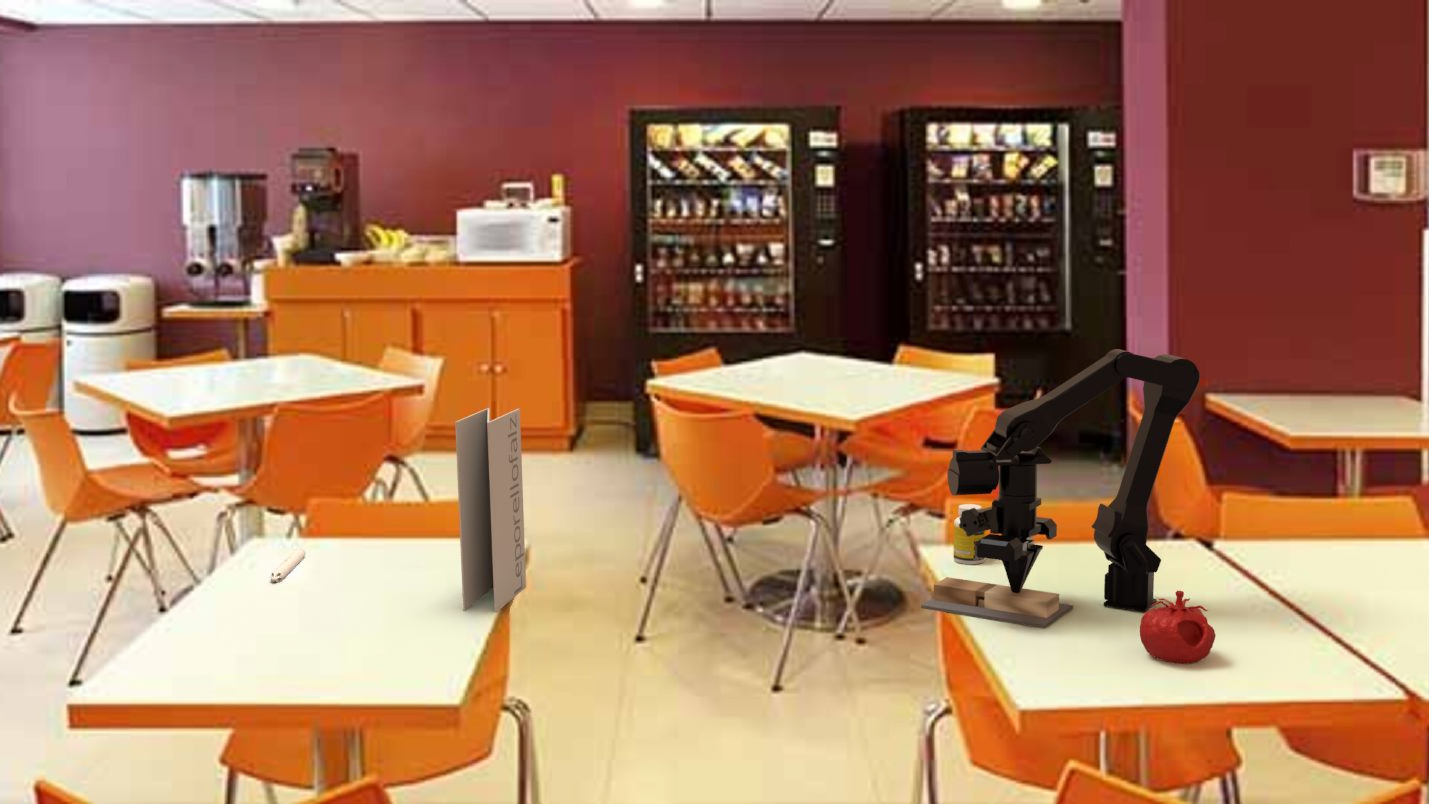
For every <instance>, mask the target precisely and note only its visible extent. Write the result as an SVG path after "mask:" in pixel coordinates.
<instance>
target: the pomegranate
mask: <svg viewBox="0 0 1429 804" xmlns="http://www.w3.org/2000/svg"><path fill="white" fill-rule="evenodd" d="M1184 595H1185V593H1184V591H1182V590H1176V591H1175V596H1176V600H1175V603H1174V602H1172V601H1169V600H1167V599H1166V598H1159V597H1157V599H1158V600H1159V601H1157V602H1156V603H1155V604H1153V605H1150V606H1152V607H1153V606H1156V605H1158V604H1162V605H1163V606H1162V607H1161V606H1160V607H1156V608H1152V609H1150V610H1149V609H1148V610H1147V611H1145V612H1144V613H1143V615H1142V617H1141V621H1140V625H1139V637H1140V640H1141V644H1142V645H1143V647H1144V649H1145V651H1146V652H1147V653H1148V654H1149V655H1150V656H1151V657H1153V658H1155V659H1157V660H1160V661H1164V662H1167V663H1170V664H1171V663H1173V664H1178V665H1179V664H1181V665H1191V664H1195V663H1198V662H1200V661H1201V660H1204V659H1206V658H1207V657H1208V655H1210V653H1211V650H1212V649H1213V646H1214V643H1215V640H1216V632H1215V629H1214V628H1213V626H1212V625H1211V624H1209V621H1208V619H1207V616H1205V615H1204V614H1203V612H1202V610H1203V611H1204V612H1207V611H1209V609H1205V607H1204V606H1202V605H1196V606H1186V603H1187V602H1190V599H1191V598H1190V597H1188V598H1184ZM1183 598H1184V599H1183ZM1164 601H1165V602H1166V603H1165V602H1164ZM1168 604H1169V605H1168ZM1201 609H1202V610H1201Z"/></svg>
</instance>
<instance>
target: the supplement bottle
mask: <svg viewBox="0 0 1429 804" xmlns="http://www.w3.org/2000/svg"><path fill="white" fill-rule="evenodd" d="M972 508H975V509H976V510H981V509H983V507H982V505H979V504H973V503H965V504H960V505H958V515H959V516H958V517H956V519H954V523H953V524H954V525H953V561H954V562H956V563H958V564H962V565H979V564H982V563H984V562H985V559H986V558H981V557H976V556H975V543H976V542H977V541H979V540H980V539H981V538H983V537H985V536H986V531H982V532H978V533H974V535H972V536H967V535H966V532H965V531H964V530H963V529H961V528H960V527H959V524H960V519H959V518H961V515H962V512H963V511H965V510H969V509H972Z"/></svg>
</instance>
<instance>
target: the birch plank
mask: <svg viewBox="0 0 1429 804" xmlns="http://www.w3.org/2000/svg"><path fill="white" fill-rule="evenodd" d="M1059 603H1060V593H1055V592H1050V591H1042V590H1035V589H1031V588H1030V589H1029V588H1024V587H1022V589H1021V591H1020V592H1019V593H1014V592H1012V591H1011V587H1010V585H1003V584H997V585H996V586H994V587H993V588H991V589H989V590H988V591H986V592H985V597H981V598H980V599H978V606H981V607H984V608H987V609H993V610H1000V611H1006V612H1012V613H1019V614H1025V615H1031V616H1037V617H1044V618H1048V617H1049V616H1050V615H1052V614H1053V613H1055V612H1056V611H1058V610H1059Z"/></svg>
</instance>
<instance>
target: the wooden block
mask: <svg viewBox="0 0 1429 804" xmlns="http://www.w3.org/2000/svg"><path fill="white" fill-rule="evenodd" d="M996 585H998V584H995V583H989V582H983V581H976V580H975V581H974V580H969V579H963V578H955V577H948V576H947V577H944V578H943V579H941V580H940V581H938V582H936V583H934V584H933V598H934V600H937V601H943V602H950V603H956V604H962V605H968V606H977V605H978V599H980V598H981V597H985V592H986V591H988V590H989V589H991V588H993V587H994V586H996Z"/></svg>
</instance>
